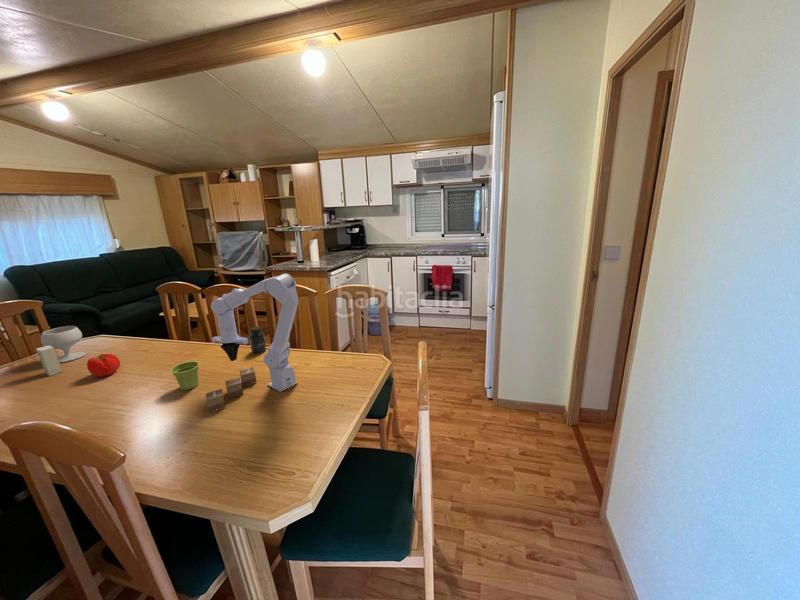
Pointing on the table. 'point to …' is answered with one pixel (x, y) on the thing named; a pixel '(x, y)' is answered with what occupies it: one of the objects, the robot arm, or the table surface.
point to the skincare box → (49, 360)
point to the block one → (215, 400)
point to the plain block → (234, 387)
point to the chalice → (63, 341)
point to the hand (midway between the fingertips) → (233, 359)
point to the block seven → (247, 376)
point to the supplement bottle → (257, 340)
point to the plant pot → (186, 374)
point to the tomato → (103, 365)
